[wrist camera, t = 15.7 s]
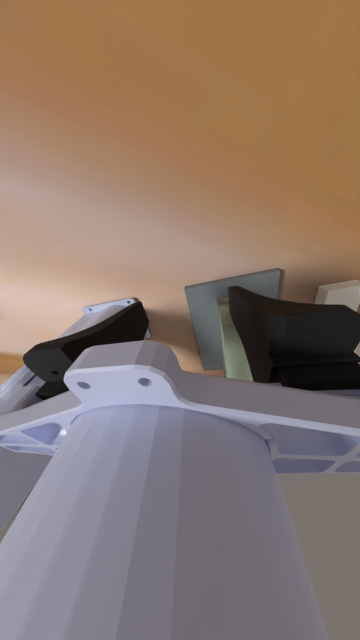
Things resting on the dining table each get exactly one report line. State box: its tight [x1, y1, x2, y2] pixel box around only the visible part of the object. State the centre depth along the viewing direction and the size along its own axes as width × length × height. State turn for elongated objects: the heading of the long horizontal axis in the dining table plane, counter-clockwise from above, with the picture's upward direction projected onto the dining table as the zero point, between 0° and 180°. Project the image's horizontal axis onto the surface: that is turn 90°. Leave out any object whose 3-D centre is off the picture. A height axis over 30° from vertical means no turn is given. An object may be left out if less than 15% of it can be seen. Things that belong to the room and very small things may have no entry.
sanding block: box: [216, 295, 253, 382], centre depth 21 cm, size 4×14×7 cm, turn 14°
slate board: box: [185, 268, 281, 371], centre depth 24 cm, size 12×18×1 cm, turn 14°
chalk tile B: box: [314, 279, 360, 311], centre depth 19 cm, size 4×4×2 cm
